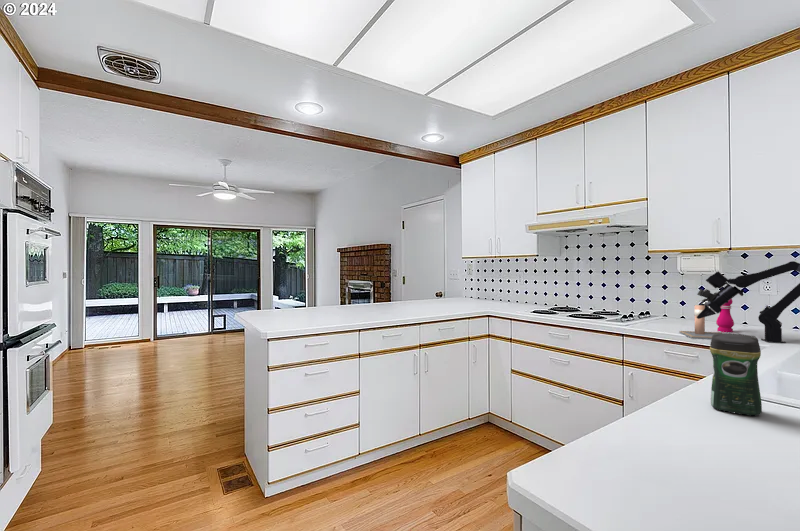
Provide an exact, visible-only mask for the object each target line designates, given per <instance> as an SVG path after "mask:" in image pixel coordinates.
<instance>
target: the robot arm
mask: <svg viewBox="0 0 800 531" xmlns="http://www.w3.org/2000/svg"><path fill="white" fill-rule="evenodd" d="M791 271H795V272H798V273H800V262H797V261H793V260H792V261H789V262H787V263H783V264H781V265H777V266H774V267H771V268H767V269H766V270H762V271H758V272H754V273H748V274H743V275H739V276H736V277H735V278H727V277H726V276H724V275H723V274H722V272H720V271H716V272H715V273H714V274H712V275H710V276H709V277H708V278H707V279H705V282H707V283H708V284H709V285H710V286H712V287H713V288H714V289H720V290H719V291H717V292H714V293H712V292H711V290H709V289H707V288H706V289H701V288H700V289H699V291H698V292H697V293H696V295H698V296H700V297H703V299H702V300H701V301H700V305H704V309H703V310H702V312H701V313H700V314H699V315H698V316H697V318H698V319H700V318H703V317H705V318H706V317H707V318H708V317H710V316H713V315H719V314H720V312H721V306H722V305H724V304H725V303H728V301H729V300H730V299H732V300H733V298H735V297H736V296H737V295H740V296H741V297H743V296H744V289H745V288H748V287H750V286H752V285H754V284H755V283H757V282H760V281H763V280H766V279H768V278H773V277H776V276H779V275H782V274H785V273H789V272H791ZM732 285H734V286H732ZM740 288H741V289H740ZM743 288H744V289H743ZM799 297H800V282H799V283H797V285H796V286H794V287H793V288H792V289H791V290H790V291H789V292H788V293H786V294H785V295H784V296H783V297H782V298H780V300H778V301H777V302H776V303H775V304H773V305H772V306H769V305H765V308H763V309H762V310H760V311H759V315H758V316H757V318H758V321H759V322H760V324H763V325H764V338H760V341H764V342H766V343H780V344H782V343H784V344H786V343H787V342H786V341H784V340H783V339H782V338H783V337H782V336H783V333H782V332H783V331H782V330H783V328H782V327H783V326H782V325H783V323H782V322H781V321H780V320H779V319H778V318H779V317H780V316H781V314H782V313H783V311H785V310H786V309H787V308H788V307H789V306H790V305H792V304H793V303H794V302H795V301H796V300H797V299H799ZM693 315H694V317H695V314H693Z"/></svg>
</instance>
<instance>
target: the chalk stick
mask: <svg viewBox="0 0 800 531" xmlns="http://www.w3.org/2000/svg"><path fill="white" fill-rule="evenodd" d="M703 309H704V305H701V304H695V305H694V315H695V316H694V331H695V334H705V332H706V331H705V329H706V328H705V322H706V321H705V320H706V319H705V318H706V317H703V318H700V319H698V318H697V316H698V315H699V314H700V313H701V312H702V310H703Z"/></svg>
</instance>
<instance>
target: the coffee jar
mask: <svg viewBox="0 0 800 531" xmlns="http://www.w3.org/2000/svg"><path fill="white" fill-rule="evenodd" d="M709 351H710V354H711V356H712V364H713V365H712V379H711V388H710V389H711V390H710V406H712V407H713V408H714V409H716V408H717V409H716V410H718V409H720V410H719V411H721V410H724V411H723V412H725V411H729V412H728V413H730V412H735V413H740V414H739V415H742V414H747V415H746V416H751V415H755V416H758V415H761V414H762V413H763V412H762V411H763V409H762V408H763V407H762V405H763V404H762V396H761V391H760V385H759V384H760V382H759V375H758V373H759V372H758V362H759V360H760V358H761V356H762V354H761V353H762V350H761V346H760V342H759V339H758V337H757V336H755V335H749V334H741V333H732V332H731V333H728V332H721V333H715V334H713V335H712V339H710V345H709ZM735 413H734V414H735Z"/></svg>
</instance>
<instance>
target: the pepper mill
mask: <svg viewBox="0 0 800 531" xmlns="http://www.w3.org/2000/svg"><path fill="white" fill-rule="evenodd" d="M732 304H733V298H732V299H730V300H729V301H728V303H725V304H724V305H722V306H721V312H720V313H718V317H717V319H716V325H717V326H718V327H717V329H716V330H717V331H716V332H719V331H721V333H728V332H731V333H734V328H733V327H734V326H735V321H734V319H733V317H732V314H731V309H732Z"/></svg>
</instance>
